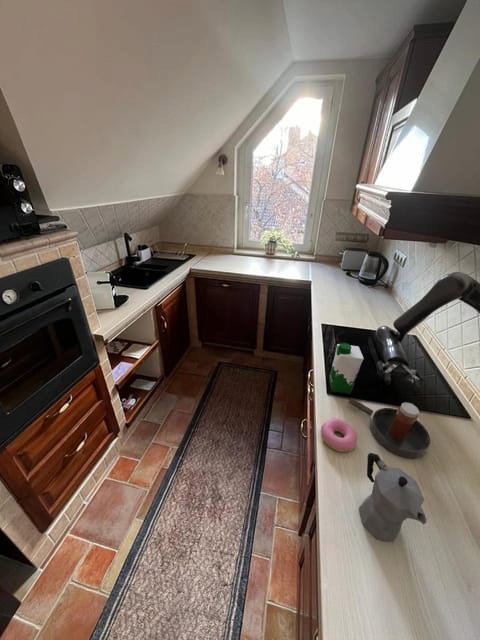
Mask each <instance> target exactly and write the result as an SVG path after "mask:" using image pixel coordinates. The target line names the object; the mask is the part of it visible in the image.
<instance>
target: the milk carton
mask: <svg viewBox="0 0 480 640" xmlns="http://www.w3.org/2000/svg"><path fill="white" fill-rule="evenodd" d="M364 359H365V358H364V356H363V354H362V351H361V349H360V346H359V345H351V344H350V343H347V342H341V343H337V344H336V349H335V353H334V359H333V361H332V365H331V369H330V372H329V377H328V381H329V385H330V391H331V390H332V391H331V393H336V392H339V393H338V394H344V393H346V394H345V395H351V394H352V392H353V389H354V387H355V383H356V380H357V378H358V375H359V372H360V368H361V366H362V363H363V361H364Z"/></svg>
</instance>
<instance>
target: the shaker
mask: <svg viewBox="0 0 480 640" xmlns="http://www.w3.org/2000/svg"><path fill="white" fill-rule="evenodd" d="M397 409H398V410H397V412H396V414H395V416H394V418H393V420H392V423H391V425H390V427H389V429H388V432H389V434H390V435H391V436H392V437H393V438H394V439H396V440H399V441H403V440H405V439H406V437H407V436H408V434H409V432H410V430H411V428H412V427H413V425H414V423H415V421H416V419H417V420H418V418H419V413H420V411H419V408H418V407H417V406H416V405H414V404H413V403H410V402H402V403H401V405H399V406H398V408H397Z"/></svg>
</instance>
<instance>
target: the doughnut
mask: <svg viewBox="0 0 480 640" xmlns="http://www.w3.org/2000/svg"><path fill="white" fill-rule="evenodd" d="M320 432H321V433H320V434H321V437H322V440H323V441H324V442H325V444H326V445H327V446H329V448H331V449H333V450H334V451H337V452H340V453H341V452H342V453H346V452H350V451H352V450H353V449H354V448H355V447H356V446H357V445H358V435H357V432H356V429H354V427H353V426H352V425H351V424H349V422H347V421H345V420H343V419H340V418H334V417H333V418H330V419H327V420H325V421H324V422H323V424H322V425H321V428H320ZM335 432H338V433H340V434H342V435H343V437H340V436H337V435H336V434H335Z"/></svg>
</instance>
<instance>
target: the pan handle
mask: <svg viewBox="0 0 480 640" xmlns="http://www.w3.org/2000/svg"><path fill="white" fill-rule="evenodd" d="M347 404H350V405H351V406H352V407H354V408H356V409H358V410H359V411H361V412H363V414H364V413H365V414H366V415H367V416H369V417H372V416H373V414H374V410H373V409H371V408H370V407H368V406H366V405H365V404H363V403H362V402H359V401H358V400H357V399H354V398H353V397H351V398H349V400H348V402H347Z"/></svg>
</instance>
